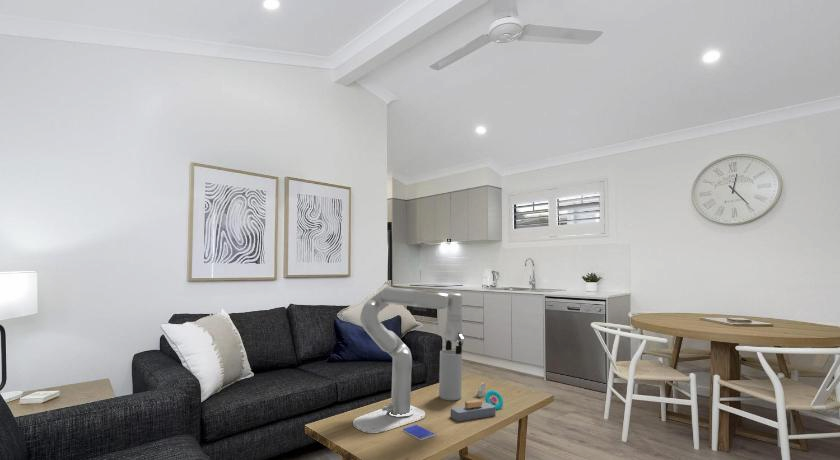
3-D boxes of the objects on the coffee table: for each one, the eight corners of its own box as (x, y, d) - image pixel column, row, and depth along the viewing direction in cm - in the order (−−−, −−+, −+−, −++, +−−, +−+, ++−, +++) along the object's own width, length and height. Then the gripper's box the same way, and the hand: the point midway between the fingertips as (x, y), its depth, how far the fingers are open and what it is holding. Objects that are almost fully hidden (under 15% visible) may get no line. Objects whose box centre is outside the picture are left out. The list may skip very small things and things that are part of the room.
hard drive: (435, 433, 184) (417, 424, 193) (421, 437, 178) (403, 428, 188) (435, 436, 183) (416, 427, 193) (420, 441, 178) (402, 432, 188)
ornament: (500, 396, 228) (483, 391, 228) (503, 393, 225) (486, 387, 225) (499, 415, 220) (481, 409, 220) (502, 412, 217) (484, 406, 217)
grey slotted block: (458, 421, 200) (458, 412, 201) (450, 416, 207) (450, 408, 207) (495, 415, 210) (495, 406, 211) (487, 410, 216) (487, 402, 217)
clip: (468, 416, 205) (468, 403, 206) (464, 414, 208) (465, 401, 208) (481, 414, 209) (481, 401, 210) (477, 412, 212) (478, 399, 212)
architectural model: (475, 397, 239) (475, 383, 240) (480, 394, 245) (480, 381, 246) (480, 398, 237) (480, 384, 238) (485, 395, 243) (486, 382, 244)
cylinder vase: (461, 394, 242) (462, 350, 243) (461, 401, 229) (462, 355, 231) (439, 393, 243) (440, 349, 245) (438, 400, 230) (439, 353, 232)
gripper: (439, 316, 221) (438, 349, 219) (457, 320, 205) (456, 356, 204) (451, 315, 224) (451, 348, 223) (469, 320, 209) (469, 355, 207)
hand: (453, 352), depth 213 cm, fingers open, 9 cm apart
